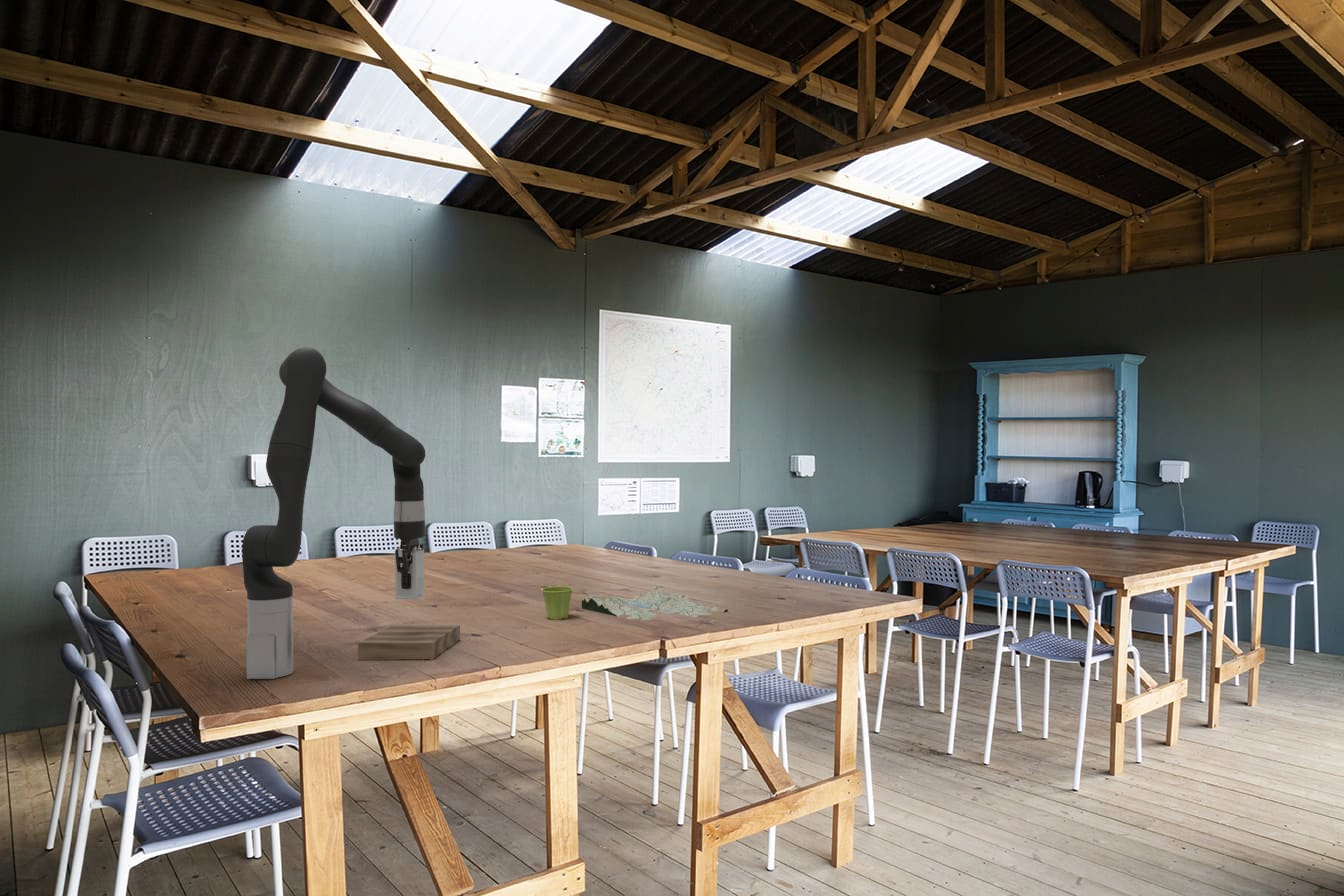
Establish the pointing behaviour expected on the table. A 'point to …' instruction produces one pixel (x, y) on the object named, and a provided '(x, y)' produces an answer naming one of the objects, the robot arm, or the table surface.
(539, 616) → the table surface
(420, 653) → the walnut stand
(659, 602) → the topographic map model
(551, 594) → the plant pot
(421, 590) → the skincare box
